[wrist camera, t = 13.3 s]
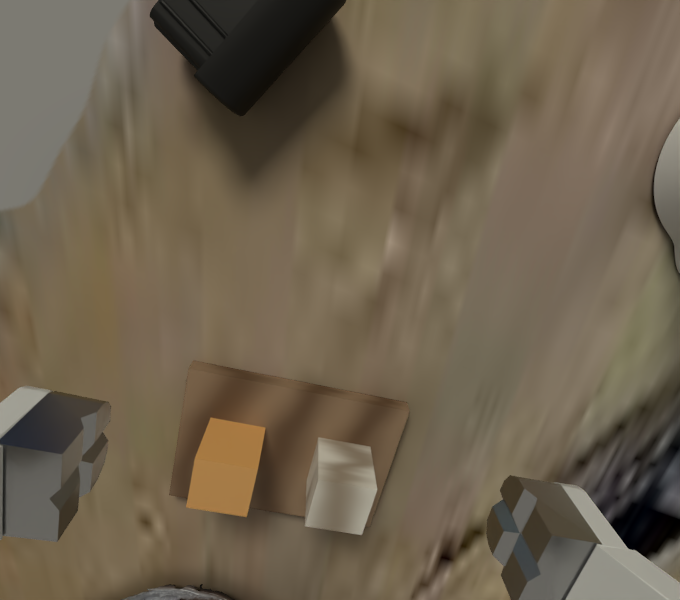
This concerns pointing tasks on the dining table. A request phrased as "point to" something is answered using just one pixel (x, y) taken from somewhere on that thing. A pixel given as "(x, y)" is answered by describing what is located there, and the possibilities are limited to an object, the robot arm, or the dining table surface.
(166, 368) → the dining table surface
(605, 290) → the dining table surface
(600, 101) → the dining table surface
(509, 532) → the robot arm
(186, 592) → the food plate
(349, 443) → the peg board
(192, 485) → the tan wooden cube
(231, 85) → the end cap
